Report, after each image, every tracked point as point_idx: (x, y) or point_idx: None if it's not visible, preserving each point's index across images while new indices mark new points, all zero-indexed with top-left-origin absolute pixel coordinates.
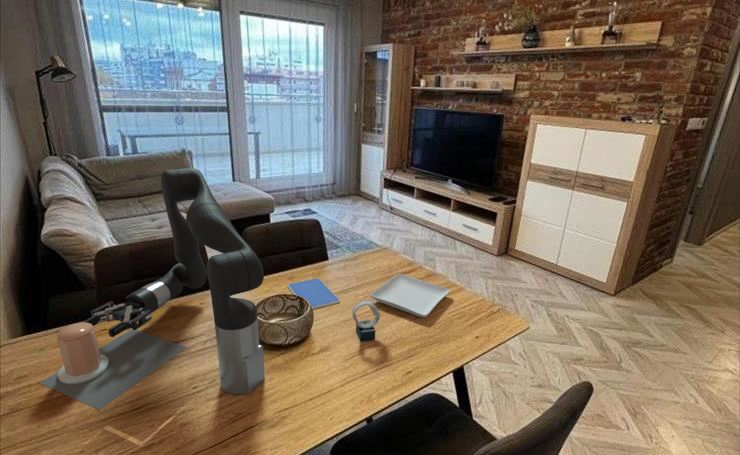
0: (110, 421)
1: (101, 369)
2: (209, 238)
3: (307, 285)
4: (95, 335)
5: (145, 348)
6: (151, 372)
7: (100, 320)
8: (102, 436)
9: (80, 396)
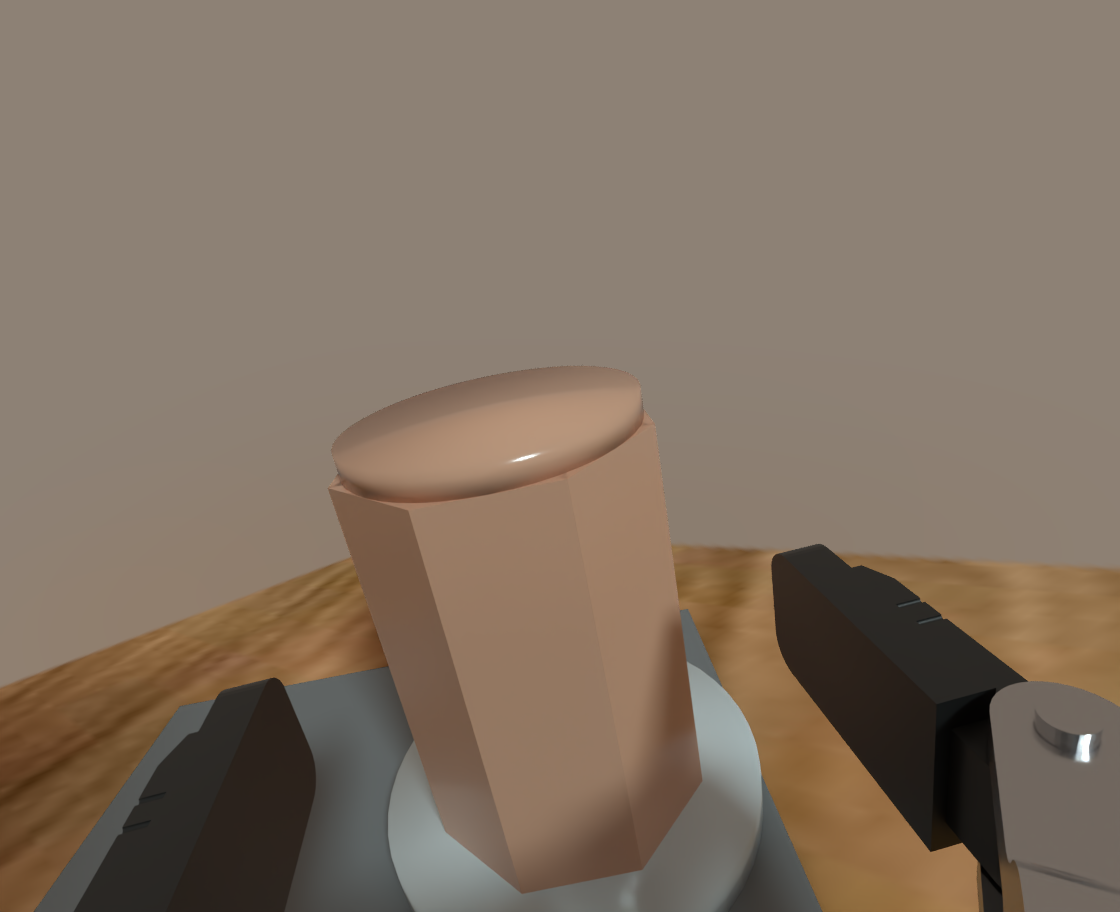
0: (92, 724)
1: (398, 827)
2: None
3: None
4: (428, 614)
5: None
6: None
7: (1001, 896)
8: (93, 679)
9: (361, 687)
